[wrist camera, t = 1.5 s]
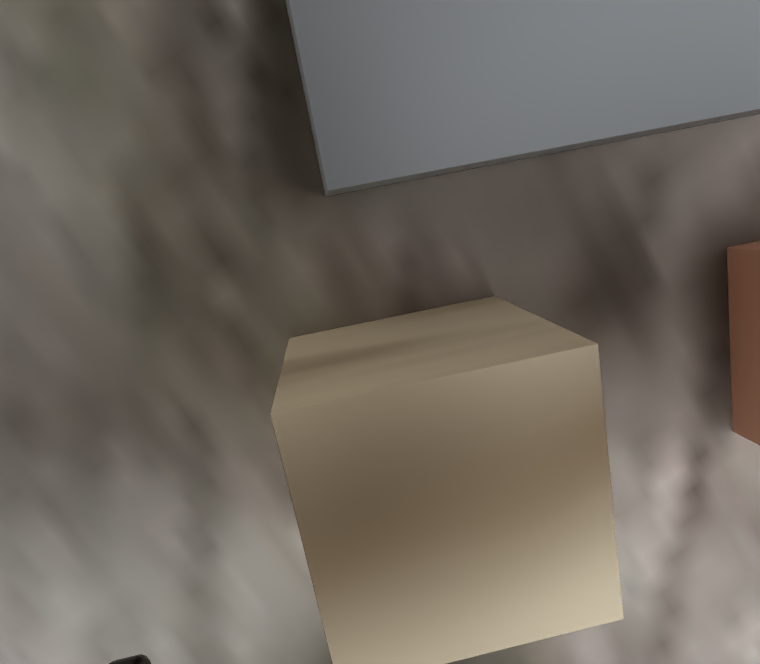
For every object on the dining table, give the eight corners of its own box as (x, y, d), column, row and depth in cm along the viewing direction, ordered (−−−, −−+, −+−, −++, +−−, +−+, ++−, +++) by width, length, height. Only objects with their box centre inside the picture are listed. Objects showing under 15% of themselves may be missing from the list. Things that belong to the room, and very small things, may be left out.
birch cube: (518, 479, 14) (623, 619, 9) (332, 522, 14) (339, 690, 9) (493, 295, 13) (597, 343, 8) (289, 337, 13) (270, 414, 8)
